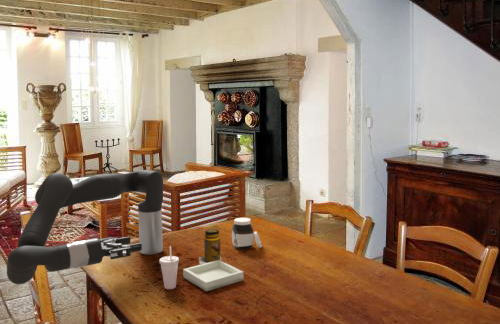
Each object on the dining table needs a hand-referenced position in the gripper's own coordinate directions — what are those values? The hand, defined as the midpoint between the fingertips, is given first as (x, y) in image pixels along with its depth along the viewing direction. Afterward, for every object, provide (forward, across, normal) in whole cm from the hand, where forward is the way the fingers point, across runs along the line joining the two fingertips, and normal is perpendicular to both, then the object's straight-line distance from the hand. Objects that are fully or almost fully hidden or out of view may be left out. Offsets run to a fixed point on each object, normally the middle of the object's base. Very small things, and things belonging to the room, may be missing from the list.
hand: (135, 243), depth 147 cm
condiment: (+36, -14, -17) cm, 42 cm away
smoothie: (+12, 0, -18) cm, 21 cm away
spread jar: (+57, -18, -17) cm, 62 cm away
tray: (+27, +2, -17) cm, 32 cm away
